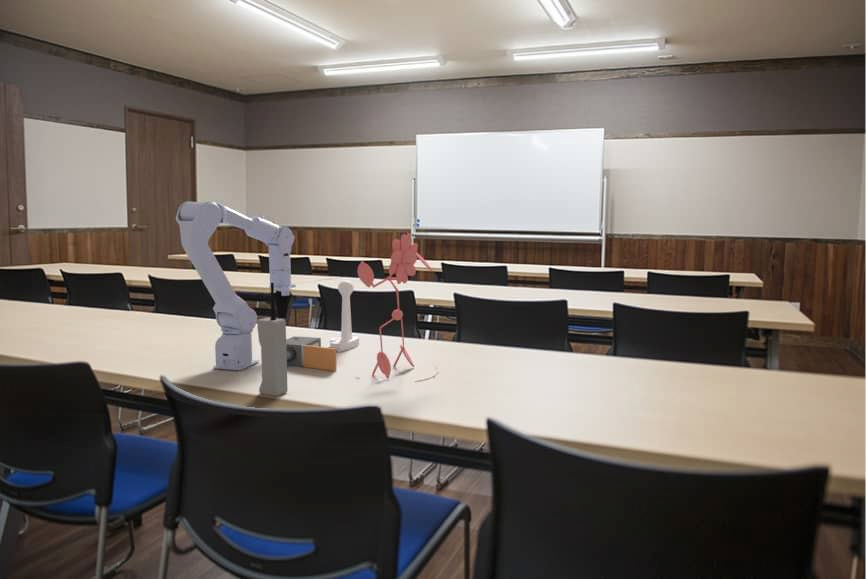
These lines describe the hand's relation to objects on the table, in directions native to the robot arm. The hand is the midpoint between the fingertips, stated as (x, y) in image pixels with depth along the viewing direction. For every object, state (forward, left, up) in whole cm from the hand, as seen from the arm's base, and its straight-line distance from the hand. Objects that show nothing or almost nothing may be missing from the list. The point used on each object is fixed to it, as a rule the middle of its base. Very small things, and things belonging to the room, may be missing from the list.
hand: (281, 318), depth 180 cm
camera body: (-5, -8, -10) cm, 14 cm away
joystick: (+14, -12, -11) cm, 21 cm away
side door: (-12, -17, -10) cm, 23 cm away
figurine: (-10, -40, -11) cm, 43 cm away
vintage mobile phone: (-34, -17, -11) cm, 40 cm away
